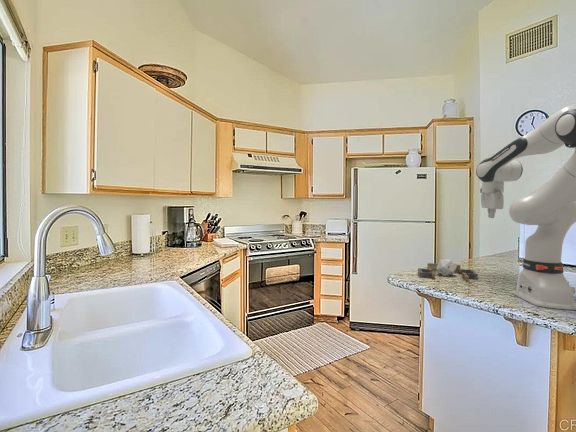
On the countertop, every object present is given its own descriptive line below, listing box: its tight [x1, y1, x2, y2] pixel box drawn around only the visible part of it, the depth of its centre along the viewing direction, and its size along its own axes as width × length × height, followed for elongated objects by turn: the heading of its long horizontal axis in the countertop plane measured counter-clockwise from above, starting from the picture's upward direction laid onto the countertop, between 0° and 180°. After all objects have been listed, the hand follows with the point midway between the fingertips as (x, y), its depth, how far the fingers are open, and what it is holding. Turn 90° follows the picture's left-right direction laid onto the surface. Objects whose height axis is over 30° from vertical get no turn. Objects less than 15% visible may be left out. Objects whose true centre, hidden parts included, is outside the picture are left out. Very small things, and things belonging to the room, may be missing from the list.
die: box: [436, 258, 457, 277], centre depth 157 cm, size 8×9×10 cm
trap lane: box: [417, 262, 479, 283], centre depth 156 cm, size 19×26×4 cm
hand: (491, 217), depth 153 cm, fingers closed
